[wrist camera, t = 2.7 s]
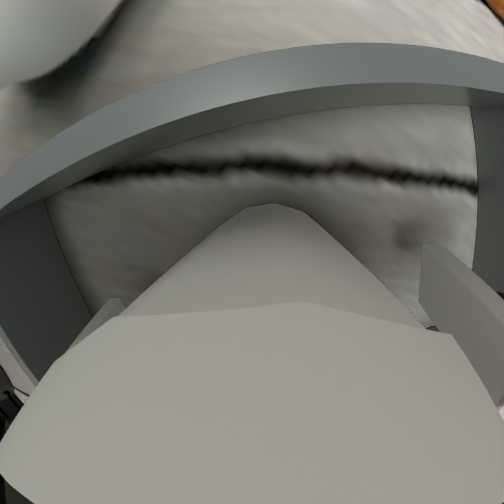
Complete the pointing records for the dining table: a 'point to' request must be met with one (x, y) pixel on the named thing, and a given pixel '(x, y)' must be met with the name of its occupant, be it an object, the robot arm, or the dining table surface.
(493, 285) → the deep open rectangular frame
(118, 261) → the dining table surface
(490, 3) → the bread slice
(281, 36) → the dining table surface
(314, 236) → the foam cup
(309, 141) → the dining table surface
